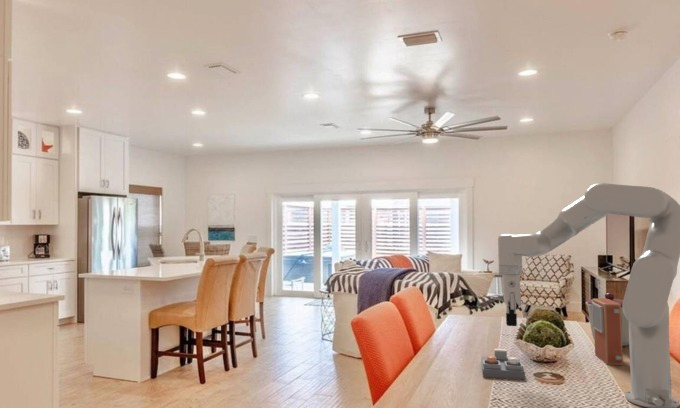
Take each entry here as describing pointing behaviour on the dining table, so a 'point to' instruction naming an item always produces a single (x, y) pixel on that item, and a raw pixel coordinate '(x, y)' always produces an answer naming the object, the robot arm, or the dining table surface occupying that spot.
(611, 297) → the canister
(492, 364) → the switch board
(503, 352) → the paddle
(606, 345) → the control panel
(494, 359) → the terracotta button
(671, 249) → the robot arm
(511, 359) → the white button
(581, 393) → the dining table surface
